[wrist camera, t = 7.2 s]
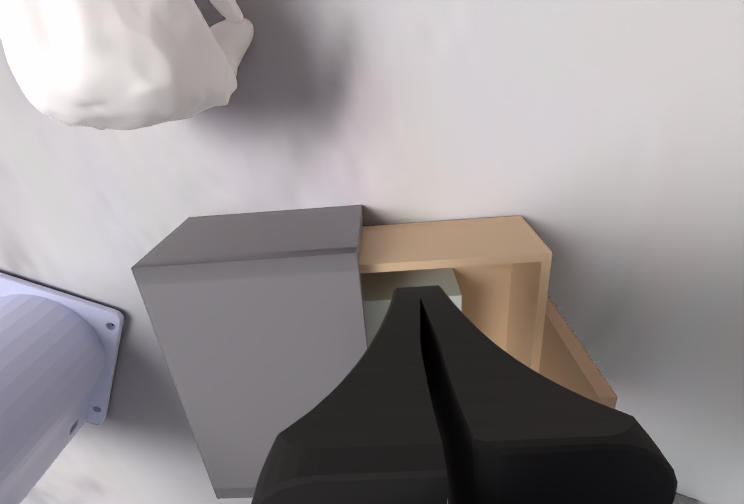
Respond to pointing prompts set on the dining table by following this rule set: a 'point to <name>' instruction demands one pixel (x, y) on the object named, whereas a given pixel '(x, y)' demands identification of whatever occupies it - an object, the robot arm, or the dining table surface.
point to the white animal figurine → (123, 58)
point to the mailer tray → (482, 290)
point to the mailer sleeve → (255, 326)
